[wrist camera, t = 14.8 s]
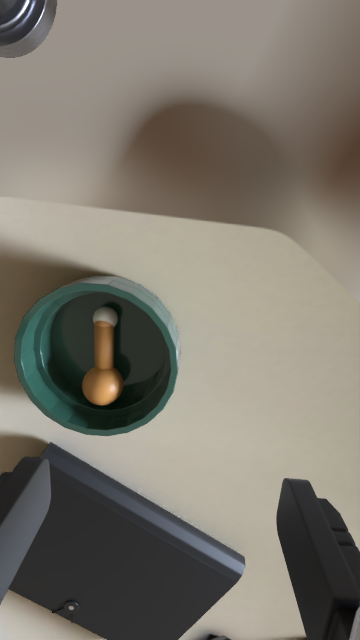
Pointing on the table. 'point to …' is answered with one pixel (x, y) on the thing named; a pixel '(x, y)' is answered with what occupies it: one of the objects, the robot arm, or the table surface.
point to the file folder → (120, 559)
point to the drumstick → (103, 361)
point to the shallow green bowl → (79, 354)
